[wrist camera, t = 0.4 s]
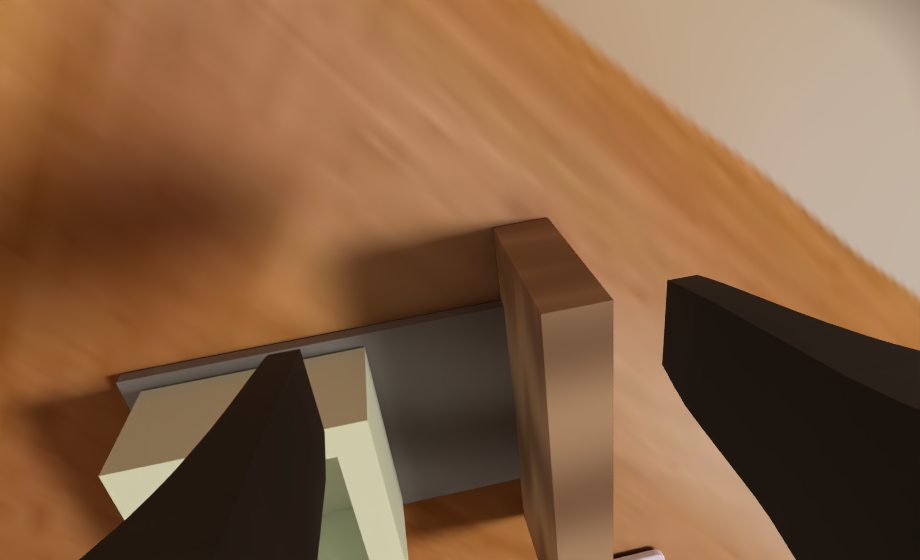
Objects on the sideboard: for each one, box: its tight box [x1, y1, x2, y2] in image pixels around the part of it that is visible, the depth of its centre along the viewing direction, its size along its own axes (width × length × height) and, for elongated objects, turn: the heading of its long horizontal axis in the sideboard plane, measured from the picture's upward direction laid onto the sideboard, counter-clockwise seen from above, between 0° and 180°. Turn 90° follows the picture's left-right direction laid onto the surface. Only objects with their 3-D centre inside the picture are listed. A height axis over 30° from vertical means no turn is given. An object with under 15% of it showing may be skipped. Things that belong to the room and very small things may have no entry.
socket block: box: [99, 347, 408, 560], centre depth 21 cm, size 8×8×4 cm
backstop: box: [116, 218, 613, 560], centre depth 21 cm, size 15×16×6 cm
